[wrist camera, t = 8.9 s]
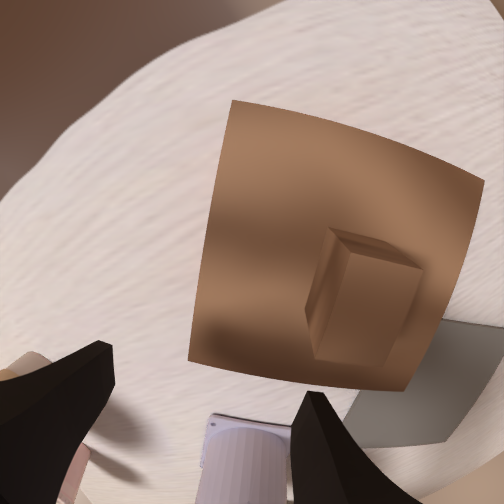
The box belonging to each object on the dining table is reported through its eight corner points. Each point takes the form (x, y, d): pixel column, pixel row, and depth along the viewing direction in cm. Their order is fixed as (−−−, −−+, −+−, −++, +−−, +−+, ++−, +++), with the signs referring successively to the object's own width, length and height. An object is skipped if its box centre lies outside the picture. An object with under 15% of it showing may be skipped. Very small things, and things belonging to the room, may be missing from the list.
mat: (443, 439, 23) (445, 442, 23) (328, 444, 23) (328, 447, 23) (513, 329, 19) (516, 331, 19) (397, 311, 19) (399, 313, 19)
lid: (400, 385, 16) (425, 437, 11) (190, 354, 16) (166, 411, 11) (478, 179, 12) (536, 189, 8) (233, 102, 12) (215, 71, 8)
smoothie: (97, 444, 26) (52, 528, 13) (102, 467, 28) (66, 541, 15) (54, 422, 26) (4, 496, 13) (63, 447, 28) (22, 515, 15)
